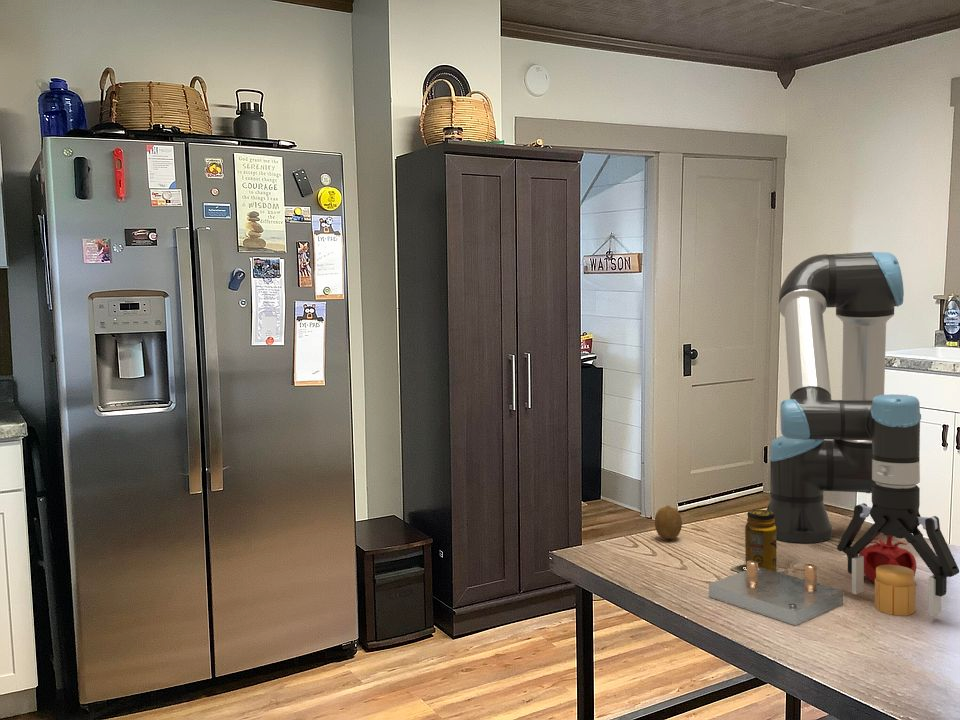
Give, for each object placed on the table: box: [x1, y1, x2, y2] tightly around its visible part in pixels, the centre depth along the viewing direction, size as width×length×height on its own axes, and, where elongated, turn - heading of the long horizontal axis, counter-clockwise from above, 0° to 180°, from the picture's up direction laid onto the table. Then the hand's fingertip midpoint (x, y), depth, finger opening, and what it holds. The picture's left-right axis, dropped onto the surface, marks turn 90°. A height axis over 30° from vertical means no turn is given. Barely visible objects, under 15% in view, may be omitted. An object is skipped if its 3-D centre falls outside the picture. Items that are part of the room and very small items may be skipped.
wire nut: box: [874, 565, 916, 616], centre depth 145 cm, size 6×6×7 cm
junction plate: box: [708, 561, 844, 626], centre depth 151 cm, size 15×18×7 cm
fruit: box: [654, 505, 683, 541], centre depth 190 cm, size 6×6×8 cm
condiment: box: [729, 509, 786, 573], centre depth 167 cm, size 7×8×12 cm
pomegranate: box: [858, 536, 917, 584], centre depth 159 cm, size 10×10×9 cm
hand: (894, 602), depth 145 cm, fingers open, 13 cm apart
